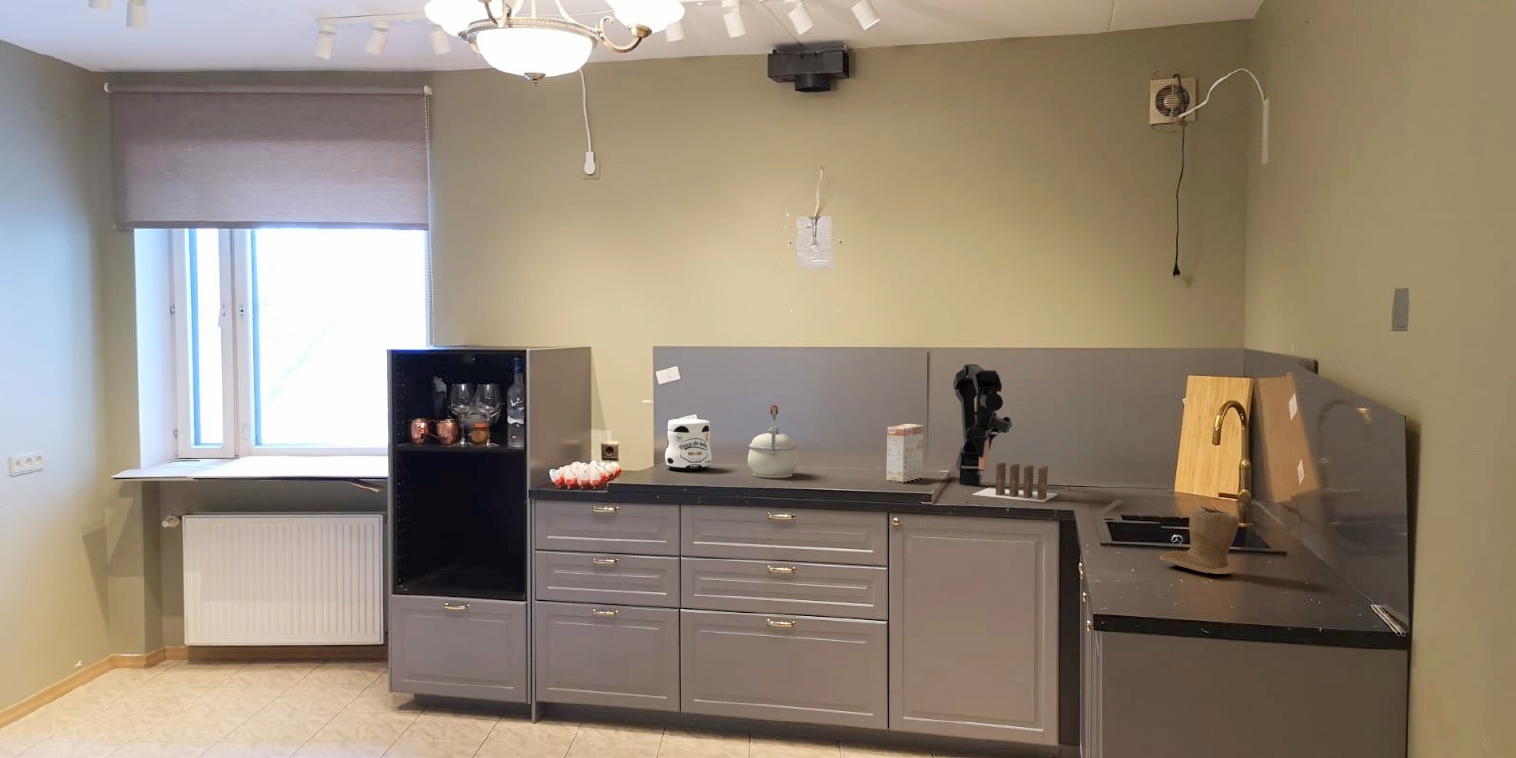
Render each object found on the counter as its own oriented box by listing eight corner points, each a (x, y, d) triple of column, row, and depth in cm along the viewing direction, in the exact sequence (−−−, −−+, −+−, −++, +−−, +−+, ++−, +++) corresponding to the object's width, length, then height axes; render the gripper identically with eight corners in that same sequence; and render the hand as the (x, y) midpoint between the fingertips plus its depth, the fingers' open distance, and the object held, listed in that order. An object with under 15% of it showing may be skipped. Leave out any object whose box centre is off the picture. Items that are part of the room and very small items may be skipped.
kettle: (798, 480, 374) (800, 409, 372) (746, 479, 374) (747, 408, 372) (797, 470, 399) (798, 403, 397) (748, 469, 399) (749, 402, 397)
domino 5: (1037, 499, 336) (1038, 467, 335) (1041, 497, 340) (1042, 466, 340) (1042, 499, 335) (1043, 468, 335) (1046, 497, 340) (1047, 466, 339)
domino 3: (1009, 496, 340) (1010, 465, 340) (1013, 494, 345) (1014, 463, 344) (1014, 497, 340) (1015, 465, 339) (1018, 494, 344) (1019, 464, 343)
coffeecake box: (905, 476, 387) (906, 423, 386) (922, 479, 383) (924, 424, 382) (885, 481, 375) (886, 426, 374) (903, 483, 371) (904, 427, 370)
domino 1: (978, 469, 345) (979, 438, 345) (983, 467, 350) (984, 437, 349) (983, 469, 344) (984, 439, 344) (988, 468, 349) (989, 437, 348)
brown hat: (1248, 575, 244) (1251, 510, 243) (1214, 581, 238) (1217, 514, 237) (1191, 561, 257) (1193, 500, 256) (1158, 566, 251) (1160, 503, 250)
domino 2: (995, 495, 343) (996, 464, 342) (1000, 493, 347) (1001, 462, 346) (1000, 495, 342) (1001, 464, 341) (1004, 493, 346) (1006, 462, 346)
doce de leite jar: (693, 474, 384) (693, 424, 383) (655, 469, 393) (656, 421, 392) (720, 468, 399) (721, 420, 398) (683, 464, 408) (684, 417, 407)
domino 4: (1023, 497, 338) (1024, 466, 338) (1027, 495, 343) (1028, 464, 342) (1028, 498, 337) (1029, 467, 337) (1032, 496, 342) (1033, 465, 341)
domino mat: (971, 498, 343) (971, 494, 343) (989, 490, 359) (989, 487, 359) (1043, 505, 332) (1043, 501, 332) (1057, 497, 347) (1058, 494, 347)
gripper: (1000, 412, 334) (999, 461, 335) (1017, 408, 350) (1016, 455, 351) (966, 409, 339) (965, 458, 340) (984, 406, 356) (983, 453, 356)
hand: (983, 456), depth 347 cm, fingers closed on domino 1, 5 cm apart
